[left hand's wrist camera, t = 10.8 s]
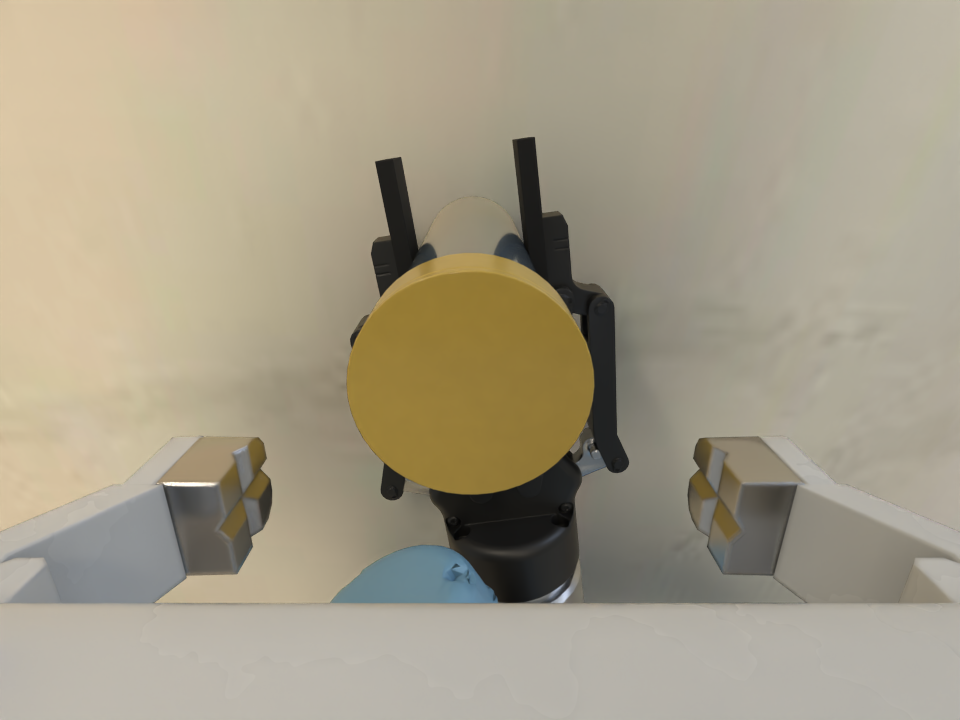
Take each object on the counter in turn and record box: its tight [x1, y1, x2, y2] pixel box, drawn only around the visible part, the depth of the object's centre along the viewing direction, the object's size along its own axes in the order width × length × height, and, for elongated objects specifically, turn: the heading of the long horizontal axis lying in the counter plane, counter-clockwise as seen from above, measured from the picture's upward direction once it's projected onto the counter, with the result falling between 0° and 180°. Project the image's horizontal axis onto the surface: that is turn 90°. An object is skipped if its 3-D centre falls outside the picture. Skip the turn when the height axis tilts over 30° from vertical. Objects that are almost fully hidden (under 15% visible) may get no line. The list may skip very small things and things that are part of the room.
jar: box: [408, 196, 537, 273], centre depth 22 cm, size 5×5×20 cm
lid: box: [347, 253, 594, 494], centre depth 14 cm, size 6×6×2 cm
